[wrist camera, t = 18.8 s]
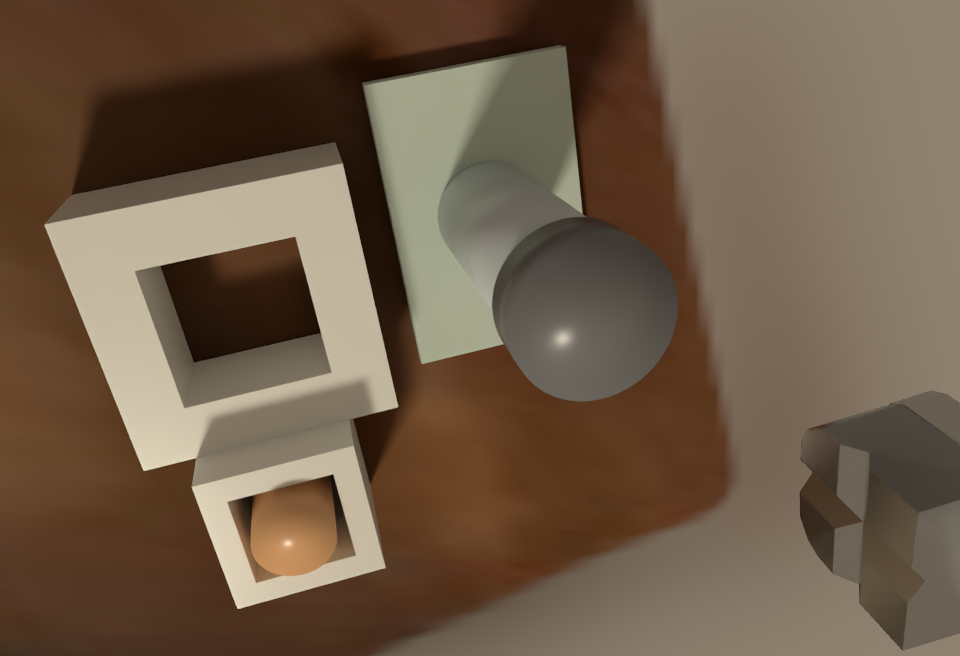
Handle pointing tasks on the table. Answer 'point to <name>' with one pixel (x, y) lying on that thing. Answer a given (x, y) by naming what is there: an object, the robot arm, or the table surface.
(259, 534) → the release button
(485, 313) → the mat
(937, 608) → the robot arm
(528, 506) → the table surface
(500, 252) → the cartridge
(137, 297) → the housing
